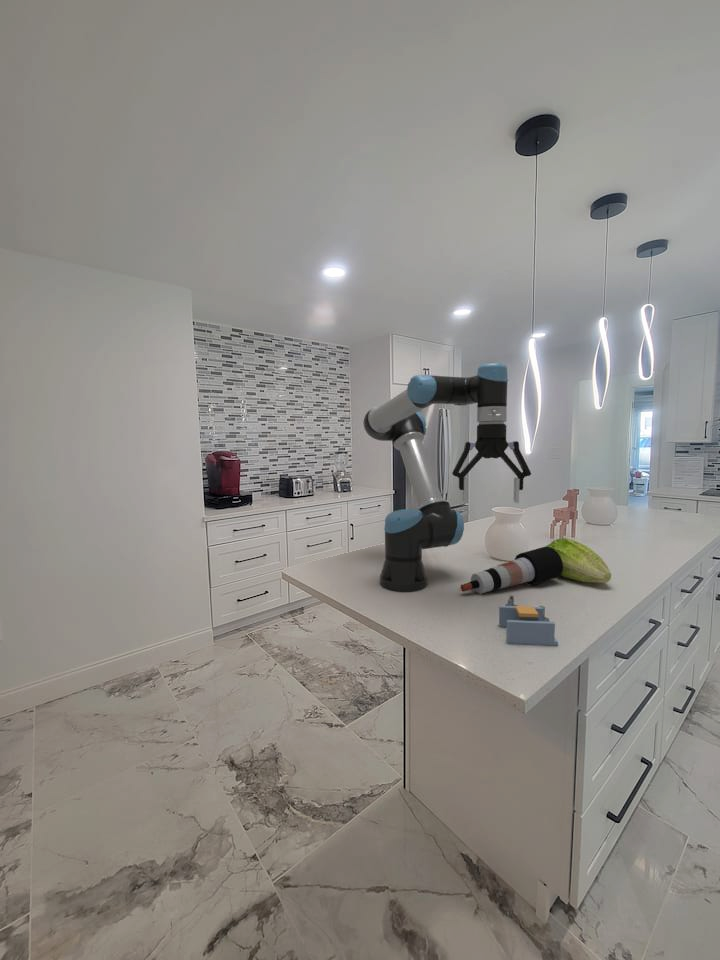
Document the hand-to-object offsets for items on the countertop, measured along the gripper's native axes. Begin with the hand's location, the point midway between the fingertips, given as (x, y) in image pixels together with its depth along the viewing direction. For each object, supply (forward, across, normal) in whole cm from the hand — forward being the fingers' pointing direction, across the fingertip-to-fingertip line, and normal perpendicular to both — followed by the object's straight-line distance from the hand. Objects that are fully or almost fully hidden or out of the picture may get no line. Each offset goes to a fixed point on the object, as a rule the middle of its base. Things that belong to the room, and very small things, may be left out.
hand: (490, 502), depth 110 cm
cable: (+29, +8, +14) cm, 33 cm away
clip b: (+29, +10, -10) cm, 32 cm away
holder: (+29, +5, -18) cm, 34 cm away
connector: (+29, +5, -19) cm, 35 cm away
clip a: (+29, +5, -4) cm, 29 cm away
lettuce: (+29, +32, +23) cm, 49 cm away
